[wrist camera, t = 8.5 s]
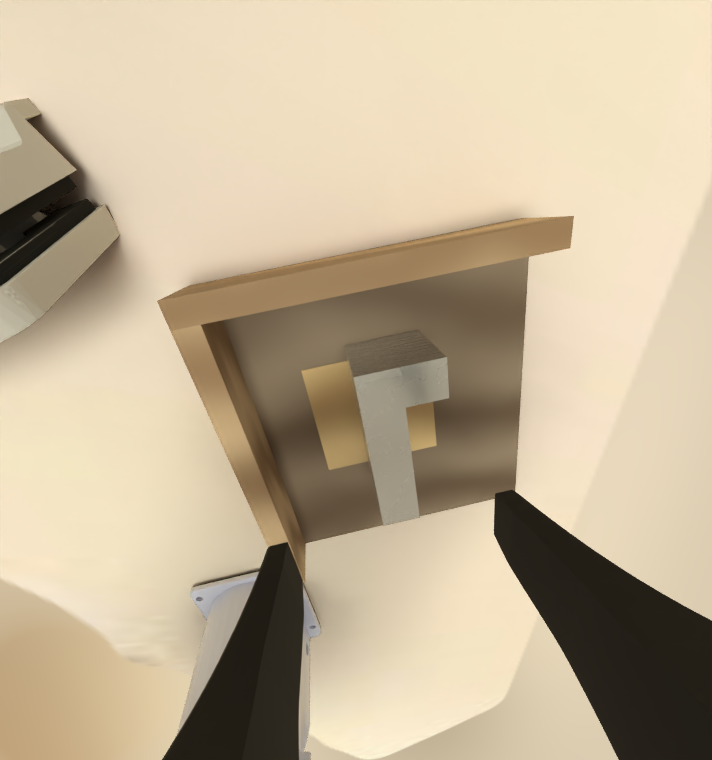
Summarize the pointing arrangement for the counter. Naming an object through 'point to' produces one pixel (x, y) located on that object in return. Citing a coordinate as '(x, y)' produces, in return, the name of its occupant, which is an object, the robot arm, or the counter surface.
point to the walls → (302, 285)
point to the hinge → (40, 223)
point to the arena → (425, 421)
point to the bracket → (394, 410)
